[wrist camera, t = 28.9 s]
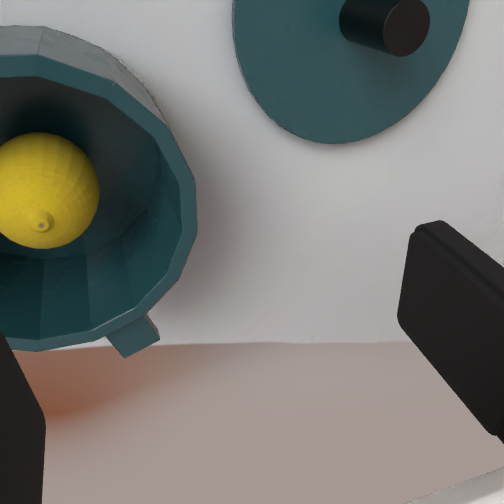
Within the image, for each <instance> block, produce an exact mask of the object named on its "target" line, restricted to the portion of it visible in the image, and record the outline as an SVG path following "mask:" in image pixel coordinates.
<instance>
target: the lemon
mask: <svg viewBox="0 0 504 504" xmlns="http://www.w3.org/2000/svg"><path fill="white" fill-rule="evenodd" d="M99 195H100V190H99V183H98V177H97V174H96V172H95V169H94V167H93V165H92V162H91V161H90V160H89V158H88V157H87V156H86V154H85V153H84V152H83V151H82V150H81V149H80V148H79V147H77V146H76V145H75V144H74V143H72V142H71V141H69V140H67V139H65V138H63V137H61V136H59V135H54V134H50V133H46V132H31V133H27V134H23V135H19V136H16V137H14V138H12V139H10V140H9V141H7V142H5V143H4V144H3V145H2V146H1V147H0V232H1V233H2V234H3V235H5V236H6V237H7V238H9V239H10V240H11V241H14V242H16V243H18V244H20V245H22V246H27V247H31V248H37V249H49V248H55V247H60V246H62V245H65V244H68V243H70V242H72V241H73V240H74V239H76V238H77V237H79V236H80V235H81V234H82V233H83V232H84V231H85V230H86V228H87V227H88V226H89V225H90V223H91V221H92V219H93V217H94V215H95V213H96V211H97V207H98V201H99Z"/></svg>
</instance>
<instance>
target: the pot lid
mask: <svg viewBox="0 0 504 504" xmlns="http://www.w3.org/2000/svg"><path fill="white" fill-rule="evenodd" d="M468 5H469V0H233V7H232V29H233V40H234V46H235V52H236V57H237V60H238V64H239V67H240V70H241V73H242V76H243V78H244V80H245V82H246V85H247V87H248V89H249V91H250V92H251V94H252V95H253V97H254V99H255V100H256V102H257V103H258V104H259V106H260V107H261V108H262V109H263V110H264V112H265V113H266V114H267V115H268V116H269V117H270V118H272V119H273V120H274V121H275V122H276V123H277V124H278V125H280V126H281V127H283V128H284V129H286V130H287V131H289V132H290V133H292V134H295V135H297V136H299V137H301V138H303V139H307V140H311V141H314V142H320V143H328V144H334V143H347V142H353V141H358V140H361V139H365V138H368V137H371V136H373V135H375V134H377V133H380V132H382V131H384V130H385V129H387V128H389V127H390V126H392V125H394V124H395V123H397V122H398V121H399V120H401V119H402V118H403V117H405V116H406V115H407V114H408V113H410V112H411V111H412V110H413V109H414V108H415V107H416V106H417V105H418V104H419V103H420V102H421V101H422V100H423V99H424V98H425V96H426V95H427V94H428V93H429V92H430V90H431V89H432V88H433V86H434V85H435V84H436V82H437V81H438V80H439V78H440V76H441V75H442V73H443V72H444V70H445V68H446V67H447V65H448V63H449V61H450V59H451V57H452V55H453V53H454V51H455V49H456V46H457V43H458V41H459V38H460V36H461V33H462V30H463V26H464V23H465V19H466V16H467V11H468Z"/></svg>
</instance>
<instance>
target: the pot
mask: <svg viewBox="0 0 504 504" xmlns="http://www.w3.org/2000/svg"><path fill="white" fill-rule="evenodd" d="M31 132H46V133H50V134H54V135H59V136H61V137H63V138H65V139H67V140H69V141H71V142H72V143H74V144H75V145H76V146H77V147H79V148H80V149H81V150H82V151H83V152H84V153H85V154H86V156H87V157H88V158H89V160H90V161H91V162H92V165H93V167H94V169H95V172H96V174H97V177H98V183H99V190H100V195H99V201H98V207H97V211H96V213H95V215H94V217H93V219H92V221H91V223H90V225H89V226H88V227H87V228H86V230H85V231H84V232H83V233H82V234H81V235H80V236H79V237H77V238H76V239H74V240H73V241H72V242H70V243H68V244H65V245H62V246H60V247H55V248H49V249H37V248H31V247H27V246H22V245H20V244H18V243H16V242H14V241H11V240H10V239H9V238H7V237H6V236H5V235H3V234H2V233H1V232H0V331H1V332H2V333H3V334H4V336H5V338H6V340H7V342H8V344H9V346H10V348H11V350H22V351H34V352H39V351H45V350H50V349H55V348H61V347H66V346H71V345H76V344H81V343H86V342H92V341H96V340H98V339H100V338H102V337H104V336H106V338H107V339H108V340H109V341H110V342H111V343H112V345H113V346H114V347H115V348H116V349H117V350H118V352H119V353H120V354H121V355H122V356H123V357H124V358H126V357H128V356H130V355H132V354H134V353H136V352H138V351H140V350H141V349H143V348H145V347H147V346H149V345H151V344H153V343H155V342H157V341H159V340H160V336H159V332H158V329H157V327H156V326H155V325H154V323H153V322H152V321H151V319H150V318H149V317H148V315H147V314H146V313H147V312H148V311H149V310H150V309H151V308H152V307H153V306H154V305H155V304H156V303H157V302H158V301H159V300H160V299H161V298H162V297H163V295H164V294H165V293H166V292H167V291H168V290H169V289H170V288H171V287H172V286H173V285H174V284H175V283H176V282H177V281H178V280H179V278H180V275H181V273H182V270H183V268H184V265H185V263H186V260H187V258H188V255H189V253H190V250H191V248H192V245H193V243H194V240H195V238H196V235H197V208H196V185H195V180H194V177H193V175H192V173H191V171H190V169H189V167H188V165H187V163H186V161H185V159H184V157H183V155H182V153H181V151H180V149H179V147H178V145H177V143H176V141H175V139H174V137H173V135H172V133H171V131H170V129H169V127H168V126H167V124H166V122H165V120H164V119H163V117H162V115H161V113H160V112H159V110H158V108H157V106H156V105H155V103H154V101H153V99H152V98H151V96H150V94H149V92H148V91H147V89H146V87H145V86H144V85H143V84H142V83H141V82H140V81H139V80H138V79H137V78H136V77H134V76H133V75H132V74H131V73H130V72H129V71H128V70H127V69H126V68H125V67H124V66H123V65H122V64H121V63H119V62H118V61H117V60H116V59H114V58H113V57H112V56H111V55H110V54H108V53H107V52H106V51H105V50H104V49H102V48H101V47H98V46H96V45H93V44H91V43H89V42H86V41H84V40H82V39H80V38H78V37H75V36H73V35H69V34H66V33H63V32H60V31H57V30H54V29H51V28H48V27H44V26H17V25H13V26H1V27H0V147H1V146H2V145H3V144H4V143H5V142H7V141H9V140H10V139H12V138H14V137H16V136H19V135H23V134H27V133H31Z"/></svg>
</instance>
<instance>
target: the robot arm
mask: <svg viewBox="0 0 504 504" xmlns="http://www.w3.org/2000/svg"><path fill="white" fill-rule="evenodd" d="M397 318H398V322H399V324H400V326H401V328H402V329H403V330H404V332H405V333H406V334H407V335H408V336H409V338H410V339H411V340H412V341H413V342H414V344H415V345H416V346H417V347H418V348H419V350H420V351H421V352H422V353H423V355H424V356H425V357H426V358H427V359H428V361H429V362H430V363H431V364H432V365H433V367H434V368H435V369H436V370H437V371H438V373H439V374H440V375H441V376H442V378H443V379H444V380H445V381H446V382H447V384H448V385H449V386H450V387H451V388H452V390H453V391H454V392H455V393H456V394H457V396H458V397H459V398H460V399H461V400H462V401H463V403H464V404H465V405H466V407H467V408H468V409H469V410H470V411H471V413H472V414H473V415H474V416H475V417H476V419H477V420H478V421H479V422H480V423H481V425H482V426H483V427H484V428H485V429H486V430H487V431H488V433H490V434H491V435H495V436H496V435H497V436H498V438H499V439H500V440H501V441H502V442H503V444H504V267H502V266H501V265H500V264H499V263H497V262H496V261H495V260H493V259H492V258H491V257H490V256H488V255H487V254H486V253H484V252H483V251H482V250H481V249H479V248H478V247H477V246H475V245H474V244H473V243H472V242H470V241H469V240H468V239H466V238H465V237H464V236H463V235H461V234H460V233H459V232H458V231H456V230H455V229H454V228H452V227H451V226H450V225H449V224H447V223H446V222H444V221H441V220H438V221H434V222H430V223H426V224H421V225H419V226H417V227H416V229H415V231H414V232H413V233H412V234H411V235H410V238H409V244H408V250H407V256H406V263H405V269H404V275H403V281H402V287H401V293H400V300H399V306H398V312H397ZM45 433H46V425H45V418H44V414H43V412H42V409H41V407H40V406H39V403H38V402H37V400H36V398H35V396H34V394H33V392H32V390H31V388H30V386H29V384H28V382H27V380H26V378H25V376H24V374H23V372H22V370H21V368H20V366H19V364H18V362H17V360H16V358H15V356H14V354H13V352H12V350H11V348H10V346H9V344H8V342H7V340H6V338H5V336H4V334H3V333H2V332H1V331H0V504H42V486H43V470H44V452H45ZM405 504H504V467H502V468H500V469H497V470H494V471H492V472H489V473H486V474H484V475H481V476H478V477H476V478H473V479H470V480H467V481H464V482H462V483H459V484H456V485H454V486H451V487H448V488H445V489H443V490H440V491H438V492H435V493H432V494H429V495H426V496H424V497H421V498H418V499H416V500H413V501H410V502H408V503H405Z"/></svg>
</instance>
